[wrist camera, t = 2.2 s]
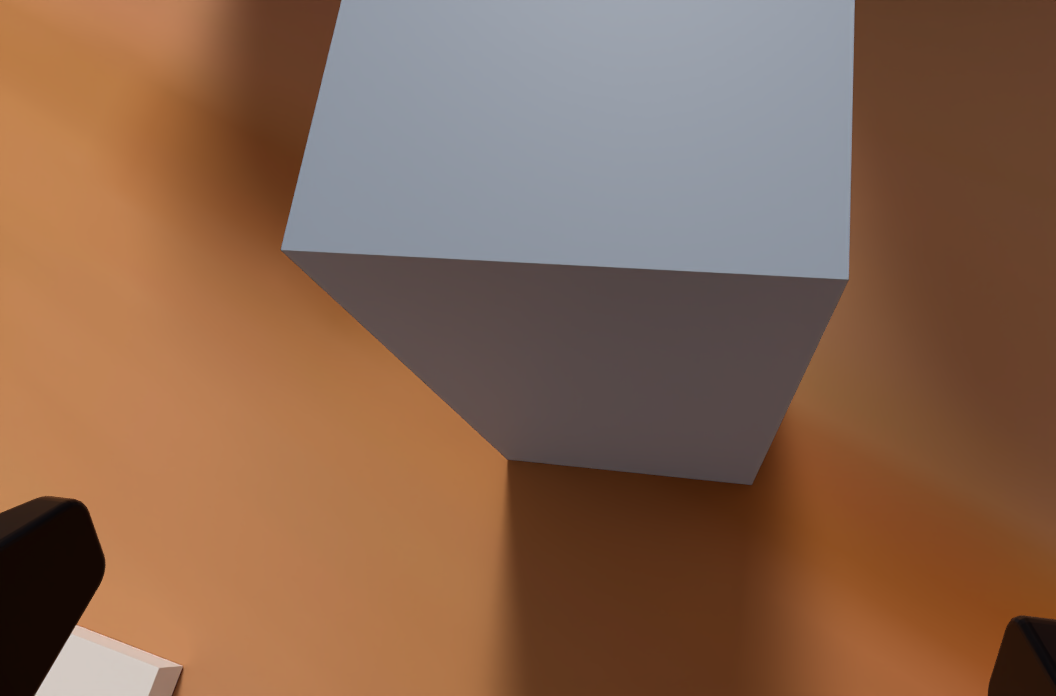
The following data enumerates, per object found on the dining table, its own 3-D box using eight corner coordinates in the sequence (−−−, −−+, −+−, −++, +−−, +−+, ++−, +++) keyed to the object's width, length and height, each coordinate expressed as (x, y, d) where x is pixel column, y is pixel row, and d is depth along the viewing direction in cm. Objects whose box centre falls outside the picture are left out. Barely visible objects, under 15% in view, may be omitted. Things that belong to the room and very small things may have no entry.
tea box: (751, 484, 20) (847, 279, 8) (507, 459, 21) (279, 250, 9) (762, 279, 21) (858, -145, 9) (534, 267, 22) (371, -120, 11)
